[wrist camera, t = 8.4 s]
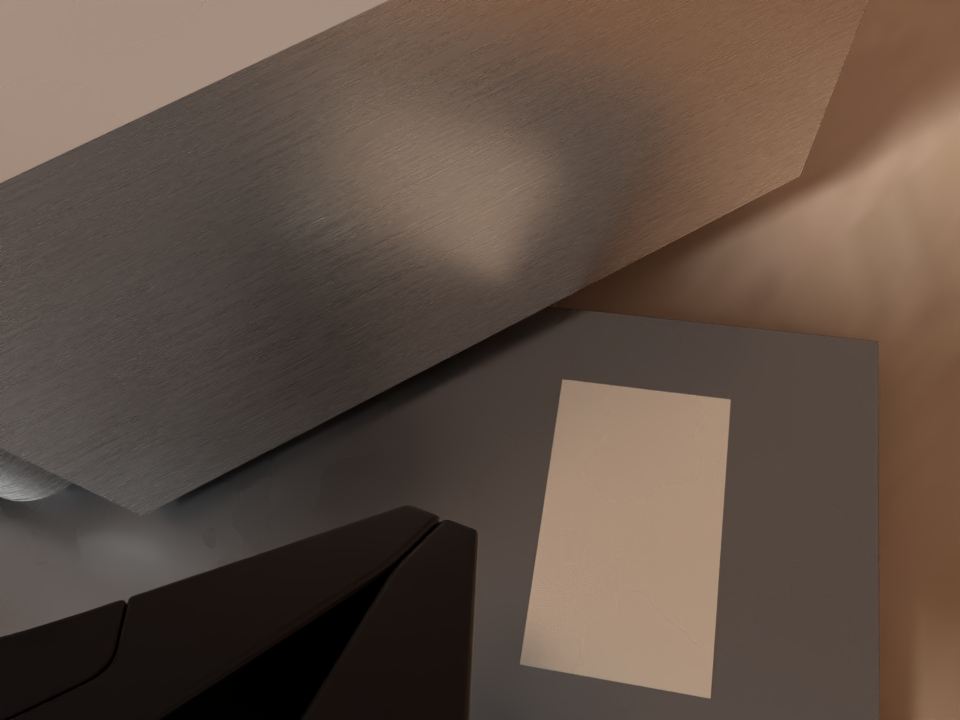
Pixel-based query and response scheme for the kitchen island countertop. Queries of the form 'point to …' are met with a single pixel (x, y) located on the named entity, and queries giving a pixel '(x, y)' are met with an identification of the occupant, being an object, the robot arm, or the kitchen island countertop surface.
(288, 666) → the robot arm
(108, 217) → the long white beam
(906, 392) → the kitchen island countertop surface
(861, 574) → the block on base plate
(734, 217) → the kitchen island countertop surface
